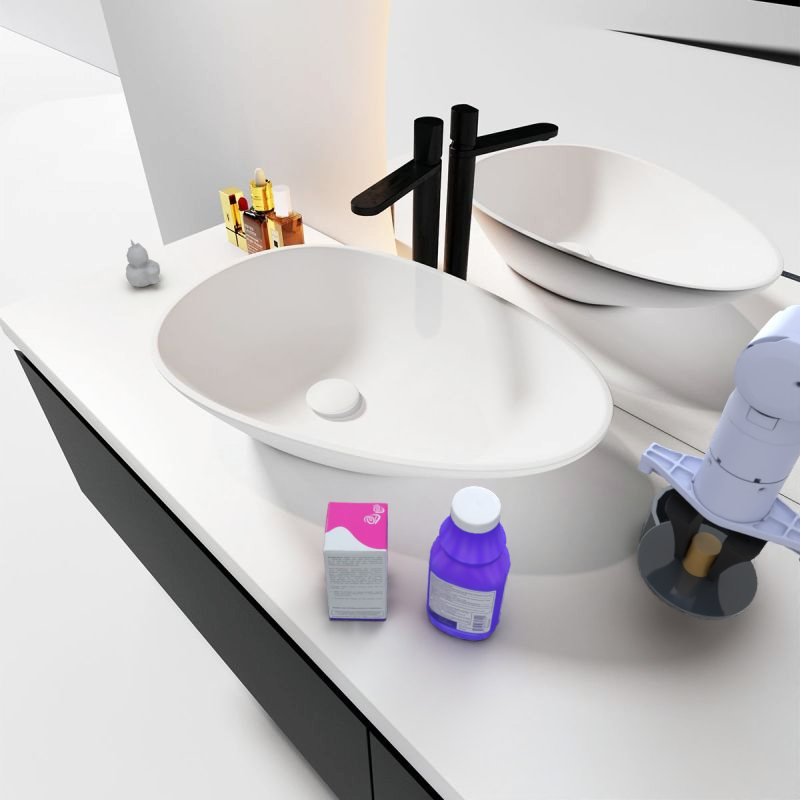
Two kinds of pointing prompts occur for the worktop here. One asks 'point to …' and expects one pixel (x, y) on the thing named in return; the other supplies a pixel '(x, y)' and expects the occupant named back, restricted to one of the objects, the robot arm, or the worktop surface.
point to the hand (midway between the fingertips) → (698, 562)
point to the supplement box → (356, 561)
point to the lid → (695, 574)
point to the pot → (659, 515)
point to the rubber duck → (141, 267)
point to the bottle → (469, 567)
